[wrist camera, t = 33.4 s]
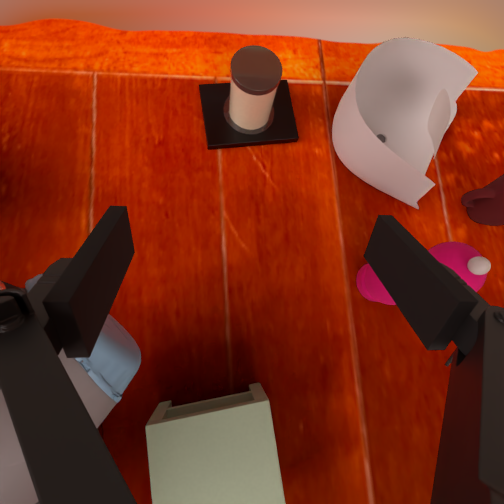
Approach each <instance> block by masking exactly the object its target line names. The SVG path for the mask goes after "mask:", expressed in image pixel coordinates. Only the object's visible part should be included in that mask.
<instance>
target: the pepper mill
mask: <svg viewBox="0 0 504 504" xmlns="http://www.w3.org/2000/svg"><path fill="white" fill-rule="evenodd" d="M428 252H429V253H430V254H431V255H432V256H433V257H435V258H436V259H437V260H438V261H439V262H440V263H443V264H444V265H446V266H448V267H449V268H451V269H452V270H454V271H455V272H456V273H457V274H458V275H459V276H460V277H461V279H463V280H464V281H465V282H466V283H467V285H469V286H470V287H471V288H472V289H473V290H474V291H475V292H477V291H478V290H479V289H480V288H481V287H482V286H483V284H484V282H485V280H486V276H487V272H488V271H489V270H490V268H491V264H490V262H489V260H488V259H486V258H484V257H482V256H481V254H480V253H479V252H478V251H477V250H476V249H474V248H473V247H471V246H469V245H467V244H464V243H460V242H445V243H441V244H438V245H436V246H434V247H432V248H431V249H429V250H428ZM356 284H357V288H358V290H359V292H360V293H361V295H362V296H363V297H365V298H366V299H368V300H370V301H373V302H381V303H383V304H388V305H396V303H395V302H394V300H393V299H392V297H391V296H390V294H389V293H388V291H387V290H386V288H385V287H384V286H383V284H382V283H381V281H380V280H379V278H378V277H377V275H376V274H375V272H374V271H373V269H372V268H371V266H370V265H369V263H367V264H365V265H364V266H362V267H361V268H360V270H359V271H358V273H357V278H356Z"/></svg>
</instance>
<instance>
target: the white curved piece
mask: <svg viewBox="0 0 504 504" xmlns="http://www.w3.org/2000/svg"><path fill="white" fill-rule="evenodd" d="M477 73H478V72H477V71H476V70H475V68H474V67H473V66H472V65H470V64H469V63H468V62H467V61H465V60H464V59H463V58H461V57H460V56H458V55H456V54H455V53H453V52H451V51H449V50H447V49H446V48H444V47H441V46H439V45H436V44H434V43H431V42H428V41H424V40H420V39H415V38H394V39H391V40H388V41H386V42H383V43H382V44H380V45H379V46H377V47H375V48H374V49H373V50H372V51H371V52H370V53H369V54H368V56H367V57H366V59H365V60H364V62H363V63H362V65H361V67H360V68H359V70H358V72H357V73H356V75H355V77H354V78H353V80H352V82H351V83H350V85H349V87H348V88H347V90H346V92H345V93H344V95H343V97H342V99H341V101H340V103H339V105H338V108H337V110H336V113H335V115H334V120H333V125H332V141H333V145H334V149H335V151H336V153H337V155H338V157H339V159H340V160H341V161H342V163H343V164H344V165H345V166H346V167H347V168H348V169H349V170H350V171H351V172H352V173H353V174H355V175H356V176H357V177H359V178H360V179H362V180H363V181H365V182H366V183H368V184H370V185H371V186H373V187H375V188H376V189H378V190H380V191H382V192H384V193H386V194H388V195H390V196H392V197H394V198H396V199H398V200H400V201H402V202H404V203H406V204H408V205H410V206H412V207H414V208H416V209H419V207H418V205H417V201H418V200H419V199H420V198H421V197H422V196H423V195H425V194H426V193H427V192H428V191H429V190H430V189H431V188H432V187H433V186H434V185H436V184H435V183H433V182H432V181H431V180H430V179H429V178H427V177H426V176H425V173H426V171H427V168H428V166H429V163H430V161H431V159H432V156H433V154H434V158H435V156H436V153H437V150H438V148H439V145H440V143H441V140H442V138H443V135H444V133H445V132H446V130H447V129H448V127H449V125H450V124H451V122H452V121H453V119H454V117H455V115H456V112H457V104H456V100H457V99H458V97H459V96H460V95H461V93H462V92H463V91H464V90H465V88H466V87H467V86H468V85H469V83H470V82H471V81H472V80H473V78H474V77H475V76H476V75H477Z"/></svg>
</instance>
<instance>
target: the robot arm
mask: <svg viewBox="0 0 504 504" xmlns="http://www.w3.org/2000/svg"><path fill="white" fill-rule="evenodd" d="M134 253H135V251H134V246H133V240H132V234H131V229H130V223H129V218H128V212H127V206H110V207H109V208H108V209H107V211H106V212H105V214H104V215H103V217H102V218H101V219H100V221H99V222H98V224H97V225H96V226H95V228H94V229H93V231H92V232H91V233H90V235H89V236H88V238H87V239H86V240H85V242H84V243H83V245H82V246H81V248H80V249H79V250H78V252H77V253H76V255H75V256H74V257H73V258H61V259H59V260H57V261H56V262H54V263H53V264H51V265H50V266H49V267H48V268H47V270H46V271H45V272H44V273H43V274H39V275H37V276H35V277H34V278H33V279H29V280H27V282H26V284H25V288H19V287H15V286H13V285H11V284H8V283H6V282H3V281H1V280H0V504H137V503H136V501H135V499H134V497H133V495H132V494H131V492H130V490H129V488H128V486H127V484H126V482H125V480H124V479H123V477H122V475H121V473H120V471H119V469H118V467H117V465H116V464H115V462H114V460H113V458H112V456H111V454H110V452H109V450H108V449H107V447H106V445H105V443H104V441H103V429H102V422H103V420H104V419H105V418H106V416H107V415H108V414H109V412H110V411H111V410H112V409H113V407H114V406H115V405H116V403H117V402H119V401H120V400H121V398H122V393H123V392H124V390H125V389H126V387H127V386H128V384H129V383H130V381H131V380H132V378H133V377H134V375H135V374H136V372H137V371H138V369H139V366H140V363H141V352H140V349H139V347H138V345H137V343H136V342H135V340H134V339H133V338H132V336H131V335H130V334H129V333H128V332H127V331H126V330H125V329H124V328H123V327H122V326H121V325H120V324H119V323H118V322H117V321H116V320H115V319H114V318H113V317H112V316H111V315H110V314H109V311H110V309H111V306H112V304H113V302H114V299H115V297H116V295H117V292H118V290H119V288H120V285H121V283H122V281H123V278H124V276H125V274H126V271H127V269H128V267H129V264H130V262H131V260H132V257H133V255H134ZM364 258H365V259H366V261H367V262H368V263H369V265H370V266H371V268H372V269H373V271H374V272H375V274H376V275H377V277H378V278H379V280H380V281H381V283H382V284H383V286H384V287H385V288H386V290H387V291H388V293H389V294H390V296H391V297H392V299H393V300H394V302H395V303H396V305H397V306H398V308H399V309H400V311H401V312H402V314H403V315H404V316H405V318H406V319H407V321H408V322H409V324H410V325H411V327H412V328H413V330H414V331H415V333H416V334H417V336H418V337H419V339H420V340H421V341H422V343H423V344H424V346H425V347H426V349H427V350H445V349H446V347H447V346H448V344H449V343H450V342H451V340H452V341H453V342H454V343H455V344H456V346H457V348H456V350H455V351H454V352H453V354H452V355H451V356H450V358H449V359H448V360H447V362H446V363H445V365H446V366H448V365H449V364H450V363H452V365H451V371H450V378H449V385H448V391H447V398H446V404H445V411H444V418H443V424H442V431H441V438H440V444H439V451H438V458H437V464H436V471H435V477H434V484H433V491H432V497H431V504H504V308H502V307H498V306H490V305H489V304H488V303H487V302H486V301H485V300H484V299H483V298H482V297H481V296H480V295H479V294H478V293H476V292H475V291H474V290H473V289H472V288H471V287H470V286H469V285H467V283H466V282H465V281H464V280H463V279H461V277H460V276H459V275H458V274H457V273H456V272H455V271H454V270H452V269H451V268H449V267H448V266H446V265H444V264H443V263H440V262H439V261H438V260H437V259H436V258H435V257H433V256H432V255H431V254H430V253H429V252H428V251H427V250H426V249H425V248H424V247H423V246H422V245H421V244H420V243H419V242H418V241H417V240H416V239H415V238H414V237H413V236H412V235H411V234H410V233H409V232H408V231H407V230H406V229H405V228H404V227H403V226H402V225H401V224H400V223H399V222H398V221H397V220H396V219H395V218H394V217H393V216H392V215H378V218H377V221H376V223H375V226H374V229H373V232H372V235H371V237H370V240H369V243H368V246H367V248H366V251H365V254H364Z"/></svg>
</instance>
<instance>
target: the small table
mask: <svg viewBox="0 0 504 504" xmlns="http://www.w3.org/2000/svg"><path fill="white" fill-rule="evenodd" d="M145 428H146V439H147V450H148V461H149V472H150V483H151V494H152V504H285V498H284V492H283V486H282V479H281V473H280V466H279V460H278V454H277V447H276V441H275V435H274V428H273V422H272V416H271V409H270V403H269V399H268V397H267V396H266V394H265V392H264V390H263V388H262V386H261V385H260V383H254V384H250V385H249V391H248V392H243V393H238V394H233V395H228V396H223V397H218V398H213V399H209V400H204V401H199V402H194V403H189V404H184V405H179V406H174V407H172V404H171V400H170V401H165V402H160V403H159V404H158V406H157V407H156V409H155V411H154V412H153V414H152V416H151V417H150V419H149V421H148V422H147V424H146V426H145Z"/></svg>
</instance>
